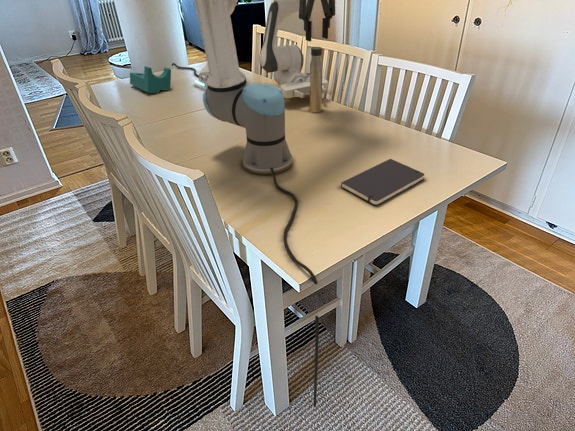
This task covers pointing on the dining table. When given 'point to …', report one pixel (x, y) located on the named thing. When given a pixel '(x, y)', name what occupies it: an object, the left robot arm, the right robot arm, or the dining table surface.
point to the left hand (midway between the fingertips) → (313, 93)
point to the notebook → (382, 181)
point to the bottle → (316, 84)
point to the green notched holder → (151, 80)
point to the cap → (316, 51)
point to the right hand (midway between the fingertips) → (316, 39)
